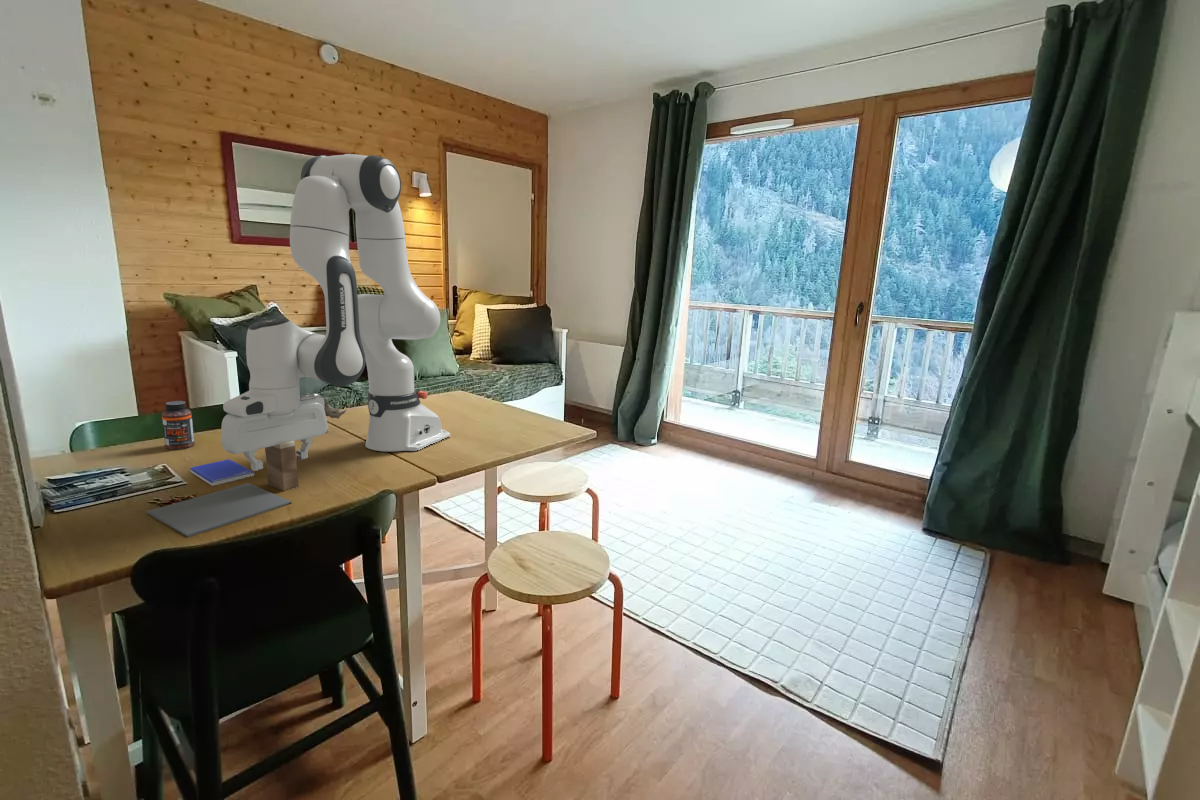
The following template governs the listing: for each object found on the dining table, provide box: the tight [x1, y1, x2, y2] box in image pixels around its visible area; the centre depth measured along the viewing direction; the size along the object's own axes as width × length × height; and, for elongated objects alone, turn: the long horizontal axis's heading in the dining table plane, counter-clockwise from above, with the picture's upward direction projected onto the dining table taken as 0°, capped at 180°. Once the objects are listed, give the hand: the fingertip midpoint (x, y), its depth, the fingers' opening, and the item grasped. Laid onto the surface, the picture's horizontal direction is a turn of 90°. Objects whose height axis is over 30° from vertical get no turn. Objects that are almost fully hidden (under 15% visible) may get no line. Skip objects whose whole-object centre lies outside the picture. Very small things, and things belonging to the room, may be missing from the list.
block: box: [264, 441, 299, 492], centre depth 119 cm, size 3×6×10 cm, turn 58°
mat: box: [146, 482, 292, 538], centre depth 108 cm, size 18×16×1 cm
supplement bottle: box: [161, 400, 196, 450], centre depth 140 cm, size 6×6×11 cm
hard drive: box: [189, 459, 255, 487], centre depth 125 cm, size 2×8×12 cm
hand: (280, 464), depth 118 cm, fingers open, 8 cm apart
